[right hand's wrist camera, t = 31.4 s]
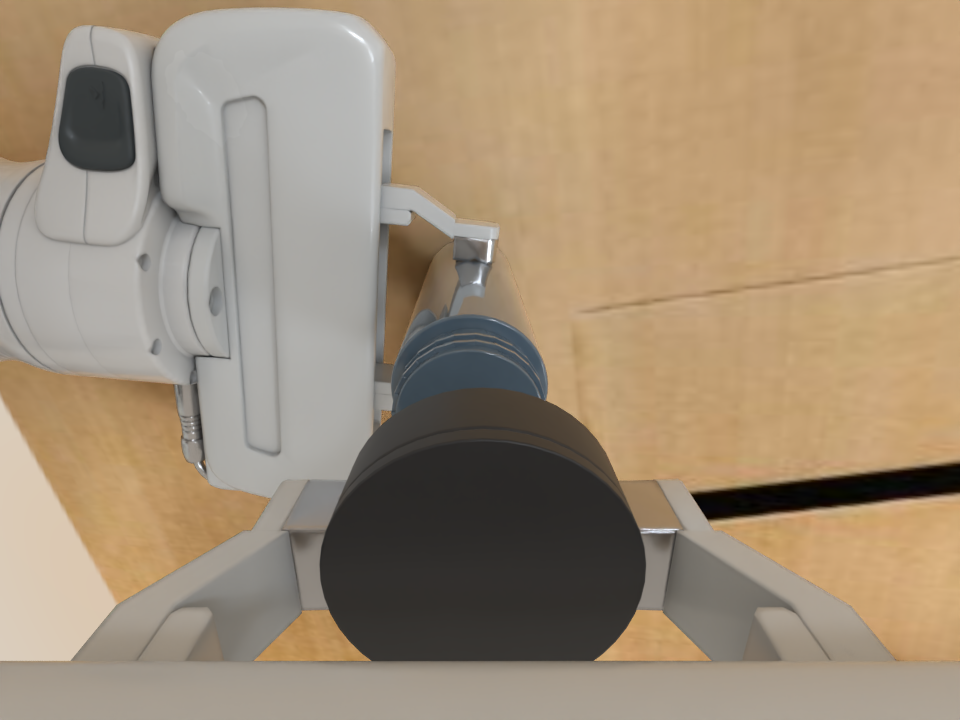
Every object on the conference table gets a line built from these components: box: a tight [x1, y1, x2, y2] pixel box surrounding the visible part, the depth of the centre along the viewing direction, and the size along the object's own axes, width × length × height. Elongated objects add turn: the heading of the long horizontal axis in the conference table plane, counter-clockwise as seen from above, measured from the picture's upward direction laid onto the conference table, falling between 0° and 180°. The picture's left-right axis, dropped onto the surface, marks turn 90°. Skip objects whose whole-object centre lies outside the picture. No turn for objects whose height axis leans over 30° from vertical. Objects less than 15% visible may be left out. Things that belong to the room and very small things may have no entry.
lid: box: [319, 388, 646, 661], centre depth 9 cm, size 5×5×2 cm
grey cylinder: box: [391, 241, 548, 416], centre depth 20 cm, size 4×4×15 cm
